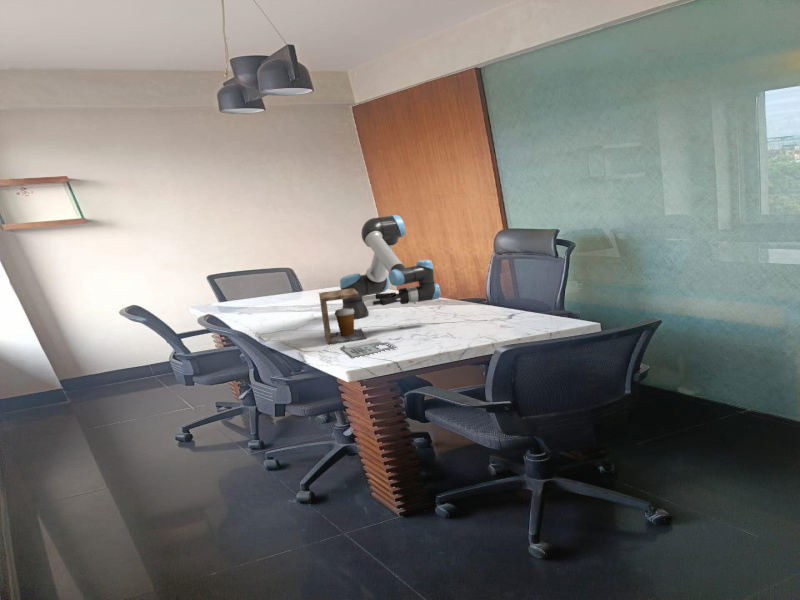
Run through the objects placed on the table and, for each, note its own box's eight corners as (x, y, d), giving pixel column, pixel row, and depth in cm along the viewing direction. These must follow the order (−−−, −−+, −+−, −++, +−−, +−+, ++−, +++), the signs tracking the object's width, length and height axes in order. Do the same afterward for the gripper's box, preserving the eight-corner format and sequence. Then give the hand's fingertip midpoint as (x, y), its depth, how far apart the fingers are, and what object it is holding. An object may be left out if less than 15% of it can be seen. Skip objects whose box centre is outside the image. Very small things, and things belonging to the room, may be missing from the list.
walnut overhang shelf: (361, 330, 333) (355, 287, 330) (366, 339, 312) (360, 293, 308) (325, 336, 331) (319, 292, 327) (327, 345, 309) (321, 298, 306)
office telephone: (339, 344, 299) (381, 336, 305) (339, 350, 299) (382, 341, 305) (352, 353, 277) (398, 344, 283) (353, 359, 277) (399, 350, 283)
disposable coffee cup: (340, 337, 317) (337, 312, 315) (335, 334, 326) (331, 310, 324) (360, 334, 320) (356, 309, 318) (353, 331, 329) (350, 307, 327)
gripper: (413, 307, 311) (368, 313, 308) (404, 299, 336) (361, 305, 332) (411, 291, 310) (366, 297, 307) (402, 284, 334) (360, 290, 331)
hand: (363, 301), depth 320 cm, fingers open, 13 cm apart
